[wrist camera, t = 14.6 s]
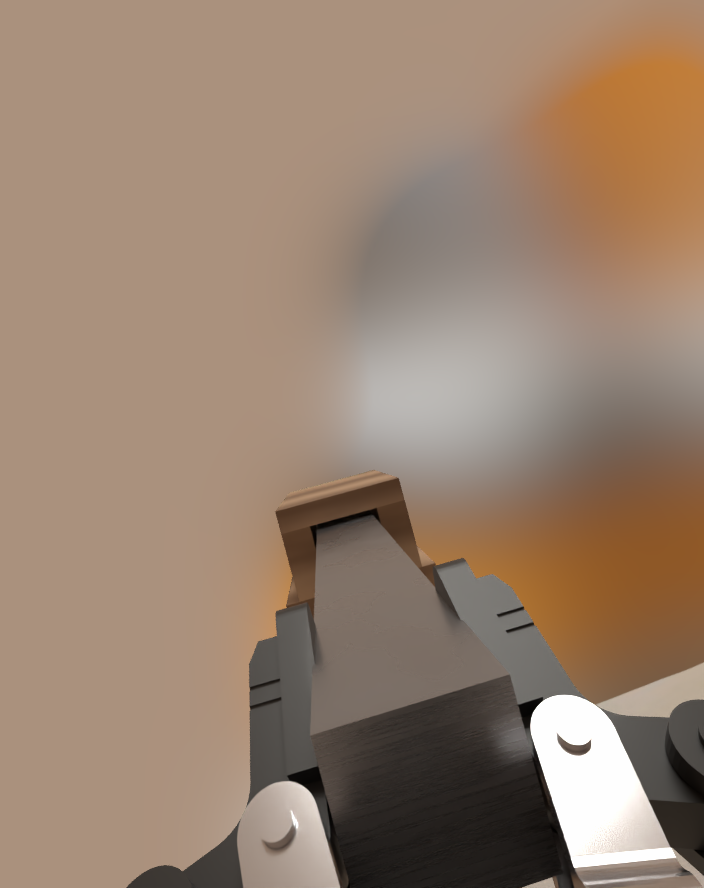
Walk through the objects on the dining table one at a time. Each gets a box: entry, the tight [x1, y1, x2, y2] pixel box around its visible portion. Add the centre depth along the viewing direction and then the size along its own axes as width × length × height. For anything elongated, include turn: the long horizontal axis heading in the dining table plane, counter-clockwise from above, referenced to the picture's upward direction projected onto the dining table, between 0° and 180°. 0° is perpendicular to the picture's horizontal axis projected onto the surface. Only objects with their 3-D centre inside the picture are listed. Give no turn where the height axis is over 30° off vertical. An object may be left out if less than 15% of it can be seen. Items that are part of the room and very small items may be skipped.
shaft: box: [310, 510, 563, 888], centre depth 21 cm, size 27×3×3 cm, turn 4°
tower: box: [276, 470, 522, 888], centre depth 32 cm, size 12×8×37 cm, turn 4°
